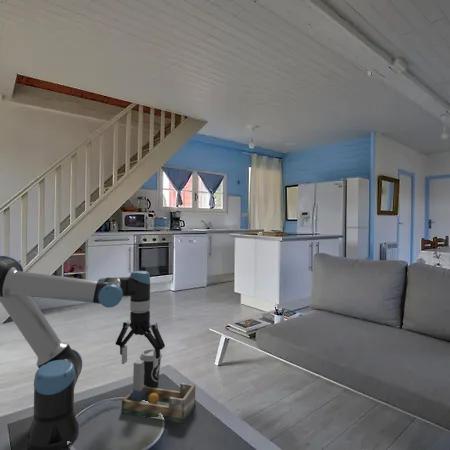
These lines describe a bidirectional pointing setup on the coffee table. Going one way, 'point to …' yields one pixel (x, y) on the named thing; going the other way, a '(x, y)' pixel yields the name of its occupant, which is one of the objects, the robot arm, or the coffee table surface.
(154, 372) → the coffee cup
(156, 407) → the wooden tray
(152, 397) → the ball
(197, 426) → the coffee table surface
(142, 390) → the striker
